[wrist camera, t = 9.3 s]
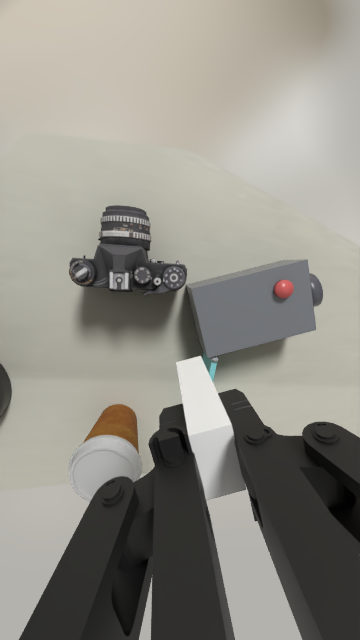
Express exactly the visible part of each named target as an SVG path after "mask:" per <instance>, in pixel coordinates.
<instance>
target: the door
mask: <svg viewBox="0 0 360 640" xmlns="http://www.w3.org/2000/svg"><path fill="white" fill-rule="evenodd" d="M202 360H203V362H204V364H205V366H206V369H207V371H208V373H209V375H210V377H211V380H212V382H213V379H214V375H215V370H216V365H217V362H218V358H217V356H214V357H210V358H207V356H206V354H205V352H204V354H203V359H202Z"/></svg>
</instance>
